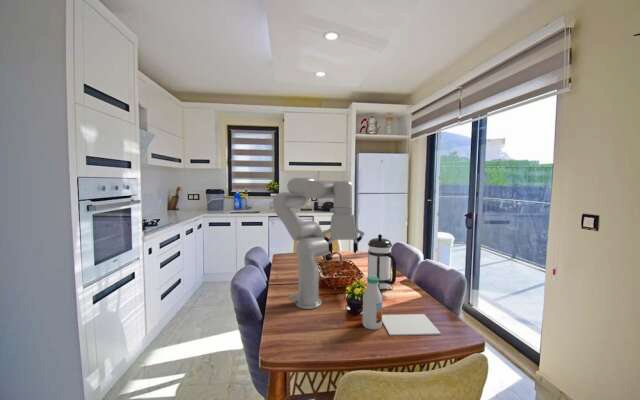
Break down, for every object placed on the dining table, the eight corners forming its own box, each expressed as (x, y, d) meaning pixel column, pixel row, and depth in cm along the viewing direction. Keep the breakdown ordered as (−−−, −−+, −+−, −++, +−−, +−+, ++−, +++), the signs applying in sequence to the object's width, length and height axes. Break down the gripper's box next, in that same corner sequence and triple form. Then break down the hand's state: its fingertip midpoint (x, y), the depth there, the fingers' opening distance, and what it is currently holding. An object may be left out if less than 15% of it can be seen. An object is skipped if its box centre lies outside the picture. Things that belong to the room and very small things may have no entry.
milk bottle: (370, 332, 114) (371, 282, 113) (358, 323, 121) (359, 276, 120) (385, 327, 118) (386, 279, 116) (373, 319, 125) (374, 273, 123)
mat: (389, 335, 112) (389, 334, 112) (379, 316, 128) (379, 315, 127) (440, 334, 112) (440, 333, 112) (424, 315, 128) (424, 314, 128)
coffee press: (362, 291, 156) (362, 236, 154) (368, 281, 170) (369, 231, 168) (395, 296, 149) (396, 238, 147) (399, 286, 164) (400, 233, 162)
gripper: (321, 212, 115) (321, 255, 116) (365, 212, 115) (365, 254, 116) (321, 210, 122) (321, 250, 123) (362, 210, 122) (362, 250, 123)
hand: (342, 252), depth 120 cm, fingers open, 9 cm apart
